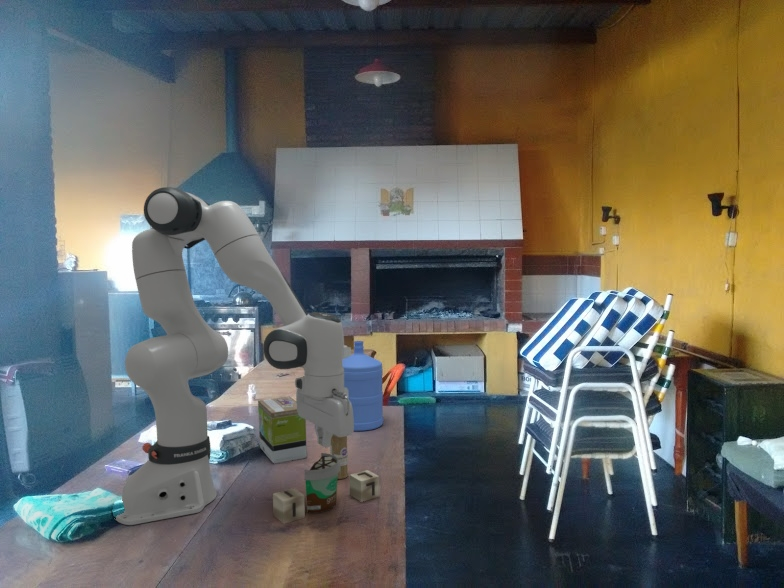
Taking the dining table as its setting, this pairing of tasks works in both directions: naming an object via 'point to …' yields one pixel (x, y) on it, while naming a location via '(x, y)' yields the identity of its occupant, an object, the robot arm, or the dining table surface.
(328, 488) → the food container
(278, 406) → the tea box
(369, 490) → the numbered block seven
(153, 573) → the dining table surface
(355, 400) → the water jug
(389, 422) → the dining table surface
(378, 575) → the dining table surface
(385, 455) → the dining table surface
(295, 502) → the numbered block one
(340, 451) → the sprinkles bottle
